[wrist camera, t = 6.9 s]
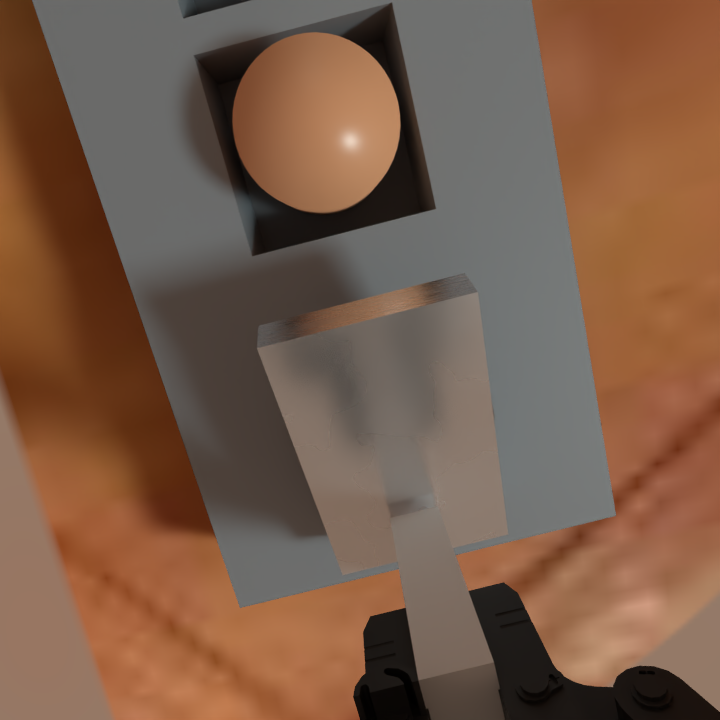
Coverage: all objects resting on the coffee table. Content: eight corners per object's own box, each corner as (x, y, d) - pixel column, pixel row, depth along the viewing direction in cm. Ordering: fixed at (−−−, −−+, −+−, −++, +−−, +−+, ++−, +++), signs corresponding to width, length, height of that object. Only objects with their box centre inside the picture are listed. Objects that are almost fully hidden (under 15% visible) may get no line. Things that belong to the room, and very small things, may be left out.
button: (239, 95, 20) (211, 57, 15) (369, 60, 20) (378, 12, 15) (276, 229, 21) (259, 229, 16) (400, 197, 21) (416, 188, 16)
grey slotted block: (40, -125, 20) (-79, -266, 14) (440, -236, 19) (481, -424, 14) (257, 542, 25) (234, 630, 20) (567, 465, 25) (632, 532, 19)
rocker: (252, 318, 16) (249, 350, 14) (466, 263, 15) (485, 289, 14) (333, 536, 20) (336, 576, 19) (497, 495, 20) (514, 533, 19)
